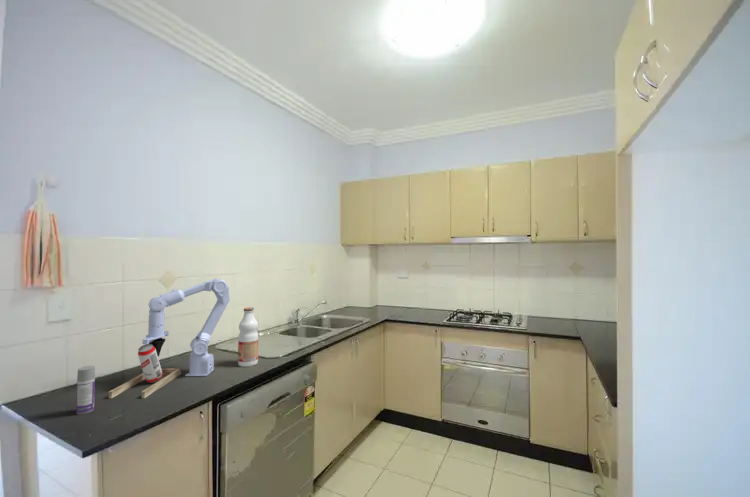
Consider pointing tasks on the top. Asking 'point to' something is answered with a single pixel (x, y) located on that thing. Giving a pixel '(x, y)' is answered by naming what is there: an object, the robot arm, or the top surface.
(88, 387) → the container
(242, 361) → the fruit juice
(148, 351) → the beer can
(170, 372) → the u rest
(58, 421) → the top surface
